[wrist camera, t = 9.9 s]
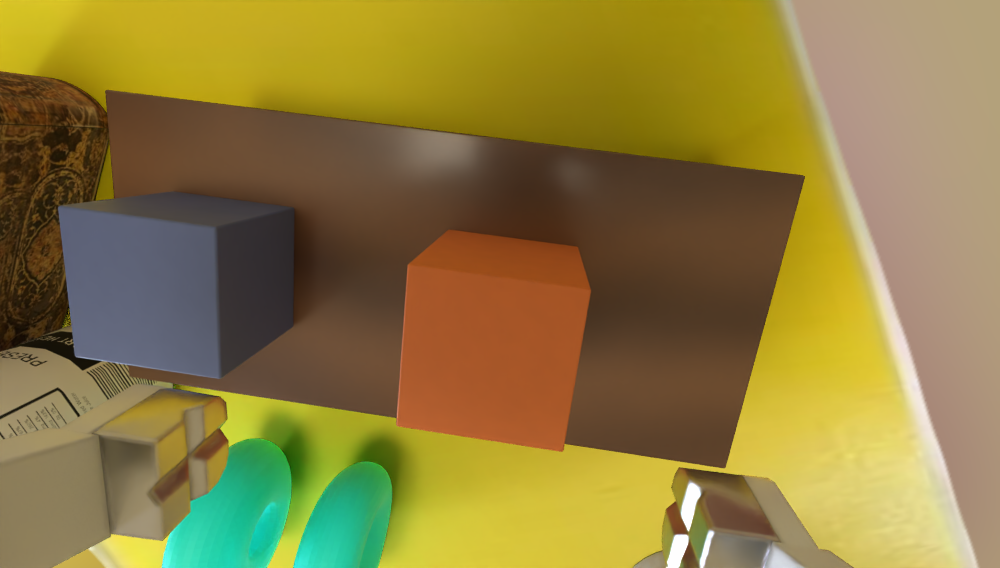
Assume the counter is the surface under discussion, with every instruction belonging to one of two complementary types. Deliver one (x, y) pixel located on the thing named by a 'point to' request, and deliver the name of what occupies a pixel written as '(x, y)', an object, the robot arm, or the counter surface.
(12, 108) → the book
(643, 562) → the glass holder
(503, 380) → the orange box
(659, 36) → the counter surface
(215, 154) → the shelf
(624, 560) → the counter surface
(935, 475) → the counter surface
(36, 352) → the supplement can
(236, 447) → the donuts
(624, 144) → the counter surface
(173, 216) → the slate-blue box
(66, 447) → the robot arm
